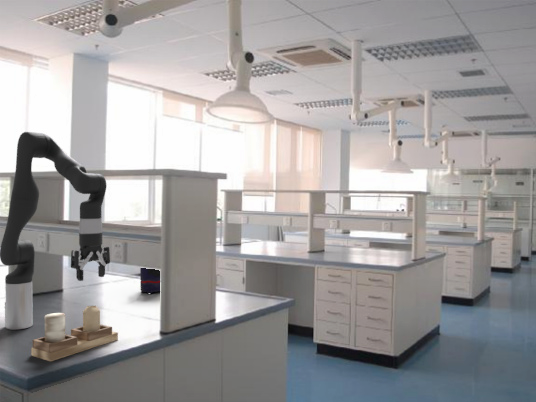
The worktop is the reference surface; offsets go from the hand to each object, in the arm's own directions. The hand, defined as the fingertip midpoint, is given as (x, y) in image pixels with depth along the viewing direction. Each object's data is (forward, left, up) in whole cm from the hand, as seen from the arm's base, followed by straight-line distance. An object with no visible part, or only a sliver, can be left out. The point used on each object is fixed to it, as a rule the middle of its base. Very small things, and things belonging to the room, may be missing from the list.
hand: (91, 278), depth 169 cm
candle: (0, 0, -20) cm, 20 cm away
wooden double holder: (0, -6, -22) cm, 23 cm away
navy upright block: (-45, +72, -22) cm, 88 cm away
